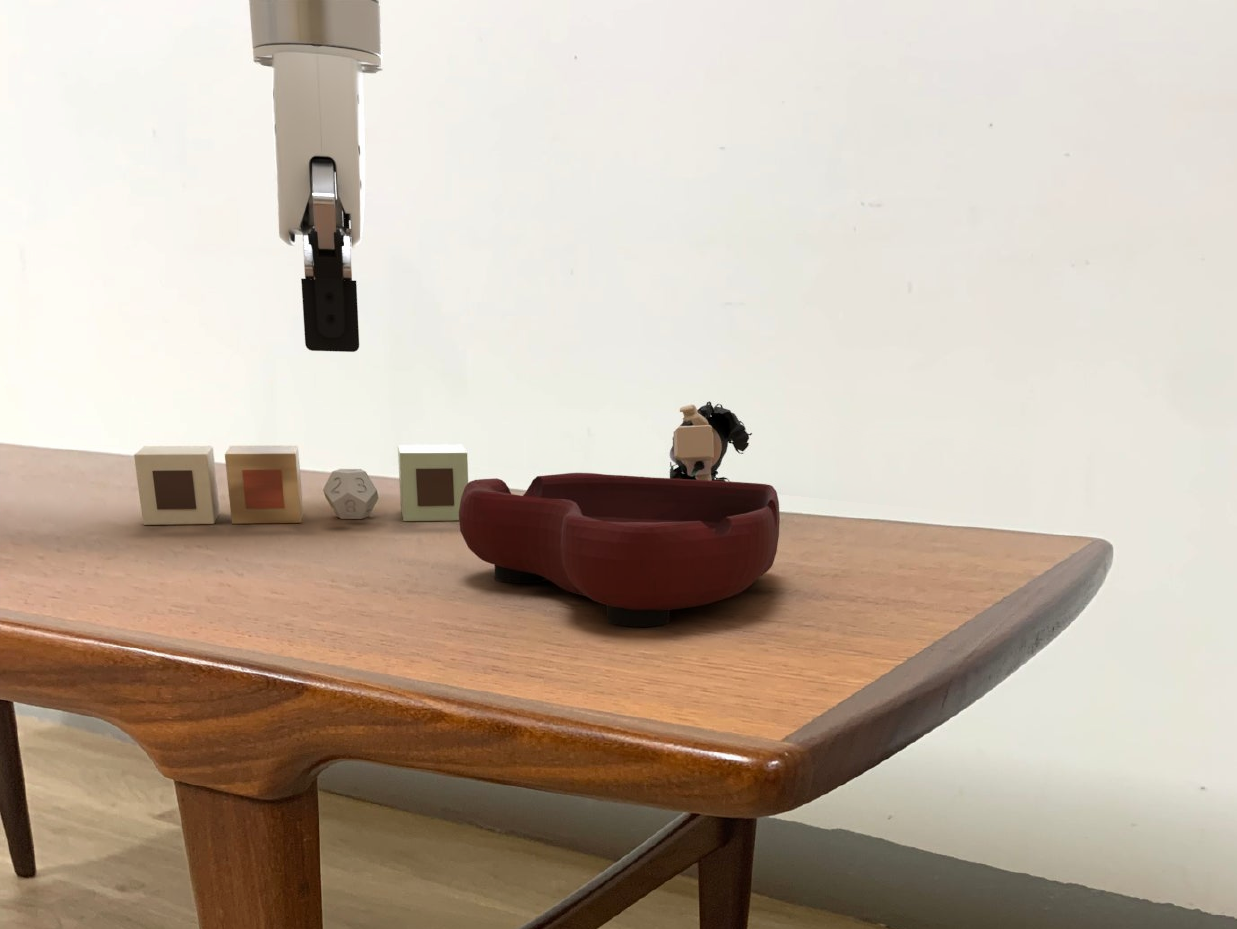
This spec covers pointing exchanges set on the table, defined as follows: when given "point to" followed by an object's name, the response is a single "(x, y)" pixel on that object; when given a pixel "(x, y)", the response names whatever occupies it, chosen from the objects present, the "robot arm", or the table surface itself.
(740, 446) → the toy figure
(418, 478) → the block
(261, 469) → the block
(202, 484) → the block
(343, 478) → the game die
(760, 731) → the table surface
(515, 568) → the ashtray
